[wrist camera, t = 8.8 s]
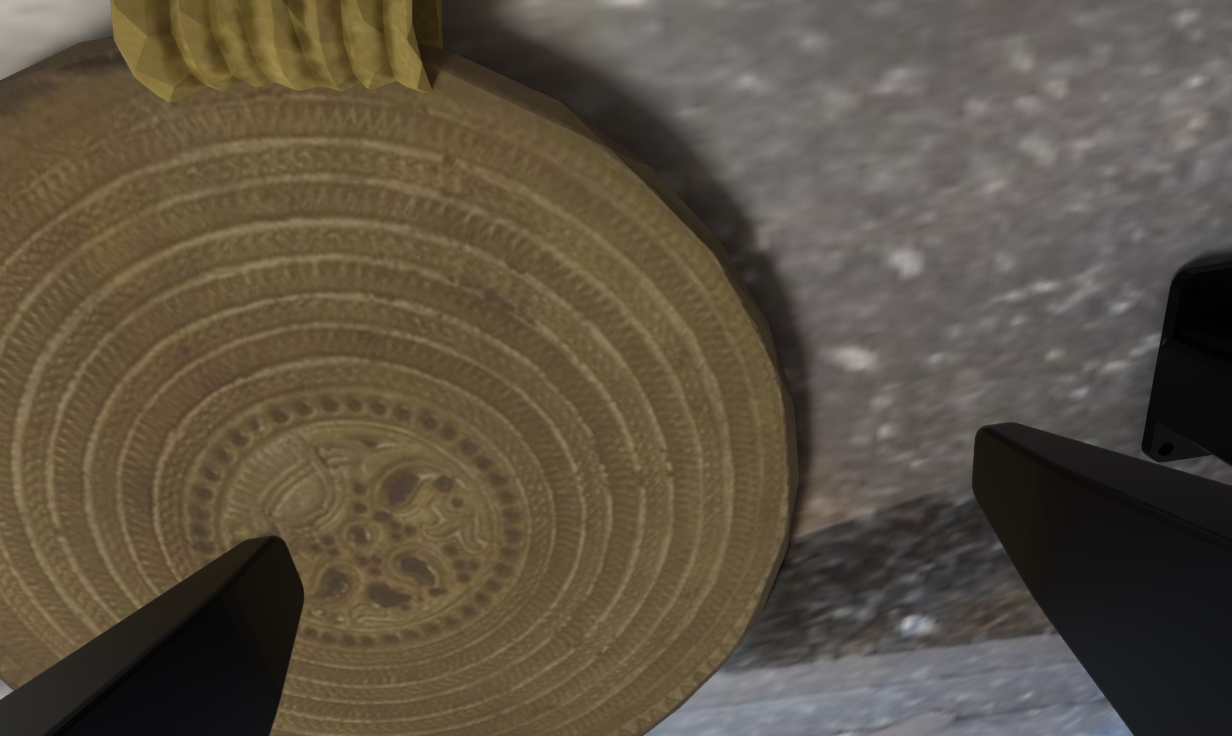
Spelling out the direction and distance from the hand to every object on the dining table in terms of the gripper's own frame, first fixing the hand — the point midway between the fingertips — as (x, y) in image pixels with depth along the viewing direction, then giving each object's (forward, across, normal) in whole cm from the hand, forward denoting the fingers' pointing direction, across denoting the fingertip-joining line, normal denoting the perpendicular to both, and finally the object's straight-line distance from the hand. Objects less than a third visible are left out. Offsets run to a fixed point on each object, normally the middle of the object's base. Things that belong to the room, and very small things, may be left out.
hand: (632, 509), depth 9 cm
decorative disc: (+13, +9, +6) cm, 17 cm away
